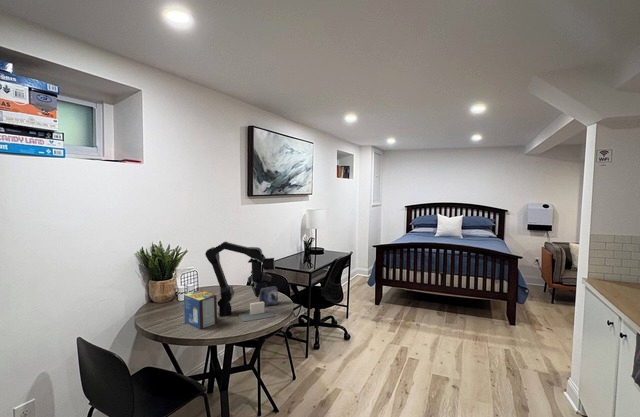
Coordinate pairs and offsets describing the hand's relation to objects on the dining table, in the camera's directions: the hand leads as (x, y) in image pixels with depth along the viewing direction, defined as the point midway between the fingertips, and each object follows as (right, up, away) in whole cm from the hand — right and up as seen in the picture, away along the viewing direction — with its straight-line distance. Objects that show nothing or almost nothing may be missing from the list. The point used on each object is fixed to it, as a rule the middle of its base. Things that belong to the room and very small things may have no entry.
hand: (257, 296), depth 195 cm
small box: (+4, -10, +17) cm, 20 cm away
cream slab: (0, -10, 0) cm, 10 cm away
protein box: (-28, -11, -13) cm, 33 cm away
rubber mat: (0, -10, -3) cm, 10 cm away
